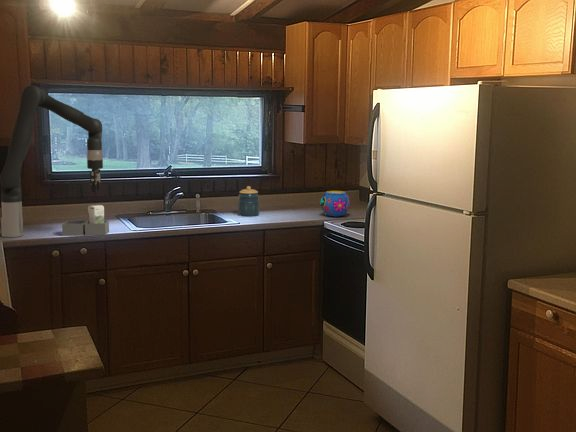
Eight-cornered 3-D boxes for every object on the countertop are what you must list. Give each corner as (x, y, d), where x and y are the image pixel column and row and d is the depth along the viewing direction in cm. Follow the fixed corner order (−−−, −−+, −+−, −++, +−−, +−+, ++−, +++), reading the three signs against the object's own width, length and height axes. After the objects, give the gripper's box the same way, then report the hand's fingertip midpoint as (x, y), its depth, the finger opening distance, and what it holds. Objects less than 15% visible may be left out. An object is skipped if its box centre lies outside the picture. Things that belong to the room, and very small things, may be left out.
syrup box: (98, 232, 335) (97, 204, 333) (105, 233, 331) (104, 205, 329) (88, 233, 331) (87, 205, 328) (95, 235, 327) (94, 206, 325)
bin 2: (85, 235, 326) (84, 223, 325) (89, 231, 336) (88, 220, 335) (105, 235, 327) (105, 223, 326) (109, 231, 337) (108, 220, 336)
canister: (233, 215, 395) (233, 186, 392) (248, 212, 405) (248, 184, 402) (248, 217, 387) (248, 187, 384) (263, 214, 396) (263, 186, 394)
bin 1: (62, 235, 325) (62, 223, 324) (67, 232, 335) (66, 220, 334) (83, 235, 326) (82, 223, 325) (87, 231, 336) (86, 220, 335)
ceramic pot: (322, 213, 404) (322, 189, 401) (350, 214, 401) (351, 190, 398) (318, 218, 386) (319, 193, 384) (348, 219, 384) (349, 193, 381)
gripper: (90, 157, 332) (91, 189, 334) (84, 159, 318) (85, 192, 320) (105, 158, 332) (106, 189, 335) (99, 160, 318) (100, 192, 321)
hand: (95, 191), depth 328 cm, fingers open, 8 cm apart
